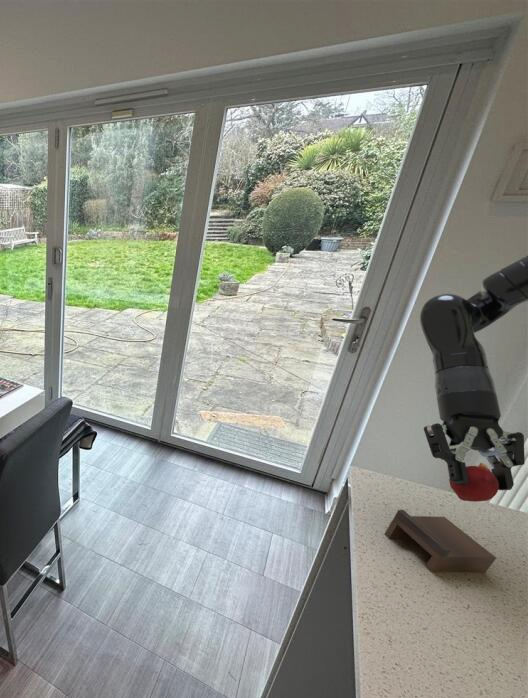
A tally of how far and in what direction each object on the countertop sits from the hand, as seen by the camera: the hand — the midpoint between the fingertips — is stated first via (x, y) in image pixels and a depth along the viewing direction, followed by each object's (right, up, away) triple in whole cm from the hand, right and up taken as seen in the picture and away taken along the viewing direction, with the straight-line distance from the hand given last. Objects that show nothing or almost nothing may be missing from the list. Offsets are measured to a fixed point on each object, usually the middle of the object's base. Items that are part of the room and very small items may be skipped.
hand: (482, 486), depth 71 cm
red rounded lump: (0, -3, +3) cm, 5 cm away
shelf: (0, -15, +8) cm, 17 cm away
